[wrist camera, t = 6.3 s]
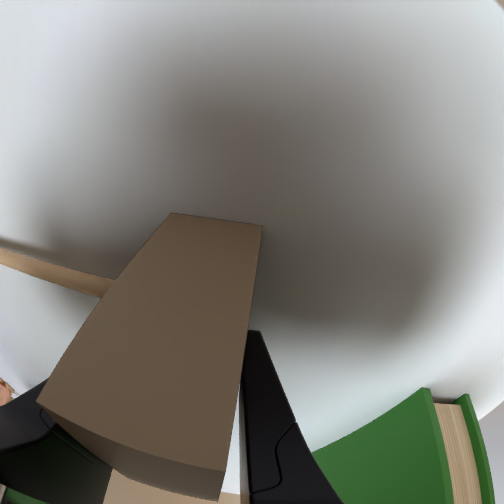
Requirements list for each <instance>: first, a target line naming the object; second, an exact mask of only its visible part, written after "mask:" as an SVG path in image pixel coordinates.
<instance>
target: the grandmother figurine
mask: <svg viewBox="0 0 504 504" xmlns="http://www.w3.org/2000/svg"><path fill="white" fill-rule="evenodd" d="M14 392H15V391H14V390H13V389H12V388H11V387H10V386H9V385H8V384H7V383H6V382H4V381H3V380H2V379H1V378H0V406H2V405H4V404H6V403H7V401H8V400H9V398H10V397H11V395H12V394H11V393H14Z"/></svg>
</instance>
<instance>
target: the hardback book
mask: <svg viewBox="0 0 504 504" xmlns="http://www.w3.org/2000/svg"><path fill="white" fill-rule="evenodd" d="M312 455H313V457H314V458H315V460H316V462H317V464H318V465H319V467H320V468H321V470H322V472H323V473H324V475H325V476H326V478H327V479H328V481H329V482H330V484H331V486H332V487H333V489H334V490H335V492H336V493H337V494H338V496H339V497H340V499H341V500H342V501H343V502H344V503H345V504H495V497H494V490H493V484H492V477H491V472H490V467H489V462H488V457H487V453H486V449H485V445H484V441H483V438H482V434H481V431H480V427H479V424H478V420H477V417H476V414H475V411H474V408H473V405H472V402H471V399H470V396H469V394H463V395H462V396H461V397H460V398H458V399H457V400H456V401H454V402H453V403H452V404H440V403H434V402H433V399H432V395H431V392H430V389H428V388H420V389H419V390H418V391H416V392H415V393H414V394H412V395H411V396H410V397H408V398H407V399H405V400H404V401H403V402H401V403H400V404H398V405H397V406H395V407H394V408H392V409H391V410H389V411H388V412H386V413H385V414H383V415H382V416H380V417H378V418H377V419H375V420H373V421H372V422H370V423H368V424H367V425H365V426H363V427H362V428H360V429H358V430H356V431H354V432H353V433H351V434H349V435H347V436H345V437H343V438H341V439H339V440H337V441H335V442H333V443H331V444H329V445H327V446H325V447H323V448H321V449H319V450H317V451H314V452H312Z"/></svg>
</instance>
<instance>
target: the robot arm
mask: <svg viewBox="0 0 504 504" xmlns="http://www.w3.org/2000/svg"><path fill="white" fill-rule="evenodd" d="M48 379H49V378H47V379H46V380H45V381H43V382H42V383H40V384H38V385H37V386H35V387H34V388H32V389H31V390H29V391H27V392H25V393H24V394H22V395H20V396H19V397H17V398H15V399H14V400H12V401H10V402H9V403H6V404H4V405H2V406H0V504H103V501H104V497H105V494H106V490H107V486H108V483H109V480H110V476H111V472H112V469H113V468H112V467H111V466H109V465H108V464H106V463H105V462H104V461H102V460H101V459H100V458H98V457H97V456H96V455H94V454H93V453H92V452H90V451H89V450H88V449H87V448H85V447H84V446H83V445H82V444H80V443H79V442H78V441H77V440H76V439H74V438H73V437H72V436H71V435H70V434H69V433H68V432H66V431H65V430H64V429H63V428H62V427H61V426H60V425H59V424H58V423H57V422H56V421H55V420H54V419H53V418H52V417H51V416H50V415H49V414H48V413H47V412H46V411H45V410H44V409H43V408H42V407H41V406H40V405H39V404H38V403H37V402H36V400H37V398H38V396H39V395H40V393H41V391H42V389H43V387H44V386H45V384H46V382H47V381H48ZM239 446H240V497H241V498H240V500H241V504H345V503H344V502H343V501H342V500H341V499H340V497H339V496H338V494H337V493H336V492H335V490H334V489H333V487H332V486H331V484H330V482H329V481H328V479H327V478H326V476H325V475H324V473H323V472H322V470H321V468H320V467H319V465H318V464H317V462H316V460H315V458H314V457H313V455H312V453H311V451H310V450H309V448H308V446H307V444H306V441H305V439H304V437H303V435H302V433H301V431H300V428H299V426H298V423H297V422H296V419H295V416H294V414H293V412H292V409H291V407H290V404H289V402H288V399H287V397H286V395H285V392H284V390H283V387H282V385H281V382H280V380H279V377H278V375H277V372H276V370H275V367H274V365H273V362H272V360H271V357H270V355H269V352H268V350H267V347H266V345H265V342H264V339H263V337H262V334H261V332H260V331H258V330H248V331H247V338H246V344H245V351H244V357H243V364H242V371H241V378H240V390H239Z"/></svg>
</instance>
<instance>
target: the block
mask: <svg viewBox="0 0 504 504" xmlns="http://www.w3.org/2000/svg"><path fill="white" fill-rule="evenodd" d="M262 228H263V226H258V225H251V224H245V223H238V222H231V221H225V220H218V219H211V218H204V217H196V216H189V215H182V214H174V213H171V214H170V215H169V216H168V217H167V218H166V220H165V221H164V222H163V223H162V224H161V225H160V226H159V228H158V229H157V230H156V231H155V232H154V233H153V235H152V236H151V237H150V238H149V239H148V240H147V242H146V243H145V244H144V245H143V246H142V248H141V249H140V250H139V251H138V252H137V254H136V255H135V256H134V257H133V259H132V260H131V261H130V262H129V263H128V265H127V266H126V267H125V268H124V270H123V271H122V272H121V274H120V275H119V276H118V277H117V279H116V280H113V279H109V278H105V277H101V276H97V275H93V274H89V273H85V272H81V271H77V270H73V269H70V268H66V267H62V266H59V265H55V264H51V263H48V262H44V261H41V260H38V259H34V258H31V257H28V256H24V255H21V254H18V253H15V252H11V251H8V250H5V249H2V248H0V264H2V265H5V266H8V267H10V268H13V269H15V270H18V271H21V272H23V273H26V274H29V275H32V276H34V277H37V278H40V279H43V280H46V281H49V282H52V283H55V284H58V285H61V286H64V287H67V288H70V289H74V290H77V291H80V292H84V293H87V294H90V295H94V296H97V297H101V298H102V299H101V300H100V301H99V303H98V304H97V305H96V307H95V308H94V310H93V311H92V312H91V314H90V315H89V317H88V318H87V320H86V321H85V322H84V324H83V325H82V327H81V328H80V330H79V331H78V333H77V334H76V336H75V337H74V339H73V340H72V342H71V343H70V345H69V346H68V348H67V349H66V351H65V353H64V354H63V356H62V357H61V359H60V361H59V362H58V364H57V365H56V367H55V369H54V370H53V372H52V374H51V375H50V377H49V379H48V381H47V382H46V384H45V386H44V387H43V389H42V391H41V393H40V395H39V396H38V398H37V400H36V402H37V403H38V404H39V405H40V406H41V407H42V408H43V409H44V410H45V411H46V412H47V413H48V414H49V415H50V416H51V417H52V418H53V419H54V420H55V421H56V422H57V423H58V424H59V425H60V426H61V427H62V428H63V429H64V430H65V431H66V432H68V433H69V434H70V435H71V436H72V437H73V438H74V439H76V440H77V441H78V442H79V443H80V444H82V445H83V446H84V447H85V448H87V449H88V450H89V451H90V452H92V453H93V454H94V455H96V456H97V457H98V458H100V459H101V460H102V461H104V462H105V463H106V464H108V465H109V466H111V467H112V468H114V469H115V470H117V471H118V472H119V473H121V474H122V475H124V476H126V477H127V478H129V479H132V480H135V481H137V482H140V483H143V484H146V485H149V486H153V487H156V488H160V489H163V490H166V491H170V492H174V493H178V494H182V495H186V496H191V497H195V498H200V499H205V500H211V501H217V502H218V499H219V495H220V492H221V488H222V484H223V480H224V476H225V472H226V466H227V460H228V454H229V448H230V441H231V435H232V429H233V422H234V416H235V410H236V403H237V397H238V390H239V384H240V377H241V371H242V364H243V357H244V351H245V344H246V338H247V331H248V324H249V317H250V311H251V304H252V297H253V290H254V283H255V277H256V270H257V263H258V256H259V249H260V242H261V235H262Z"/></svg>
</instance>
